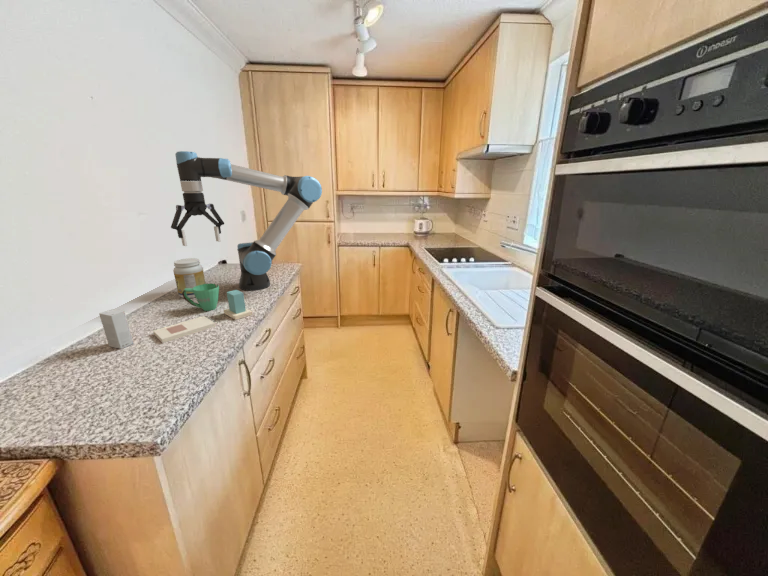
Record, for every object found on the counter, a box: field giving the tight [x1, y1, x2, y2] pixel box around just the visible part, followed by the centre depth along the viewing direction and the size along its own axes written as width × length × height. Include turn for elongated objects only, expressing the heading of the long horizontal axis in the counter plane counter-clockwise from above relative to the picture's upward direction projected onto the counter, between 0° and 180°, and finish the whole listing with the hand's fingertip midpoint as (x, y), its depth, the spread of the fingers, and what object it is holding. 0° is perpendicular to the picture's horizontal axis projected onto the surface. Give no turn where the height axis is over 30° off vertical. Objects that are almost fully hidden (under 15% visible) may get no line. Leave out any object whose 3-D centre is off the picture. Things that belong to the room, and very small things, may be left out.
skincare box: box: [99, 308, 134, 350], centre depth 104 cm, size 6×4×12 cm
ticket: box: [152, 315, 218, 344], centre depth 116 cm, size 18×10×2 cm, turn 139°
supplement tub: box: [172, 257, 207, 299], centre depth 150 cm, size 12×12×17 cm
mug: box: [182, 283, 220, 312], centre depth 134 cm, size 15×10×10 cm
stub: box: [223, 289, 253, 321], centre depth 129 cm, size 7×10×10 cm
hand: (202, 243), depth 136 cm, fingers open, 13 cm apart
